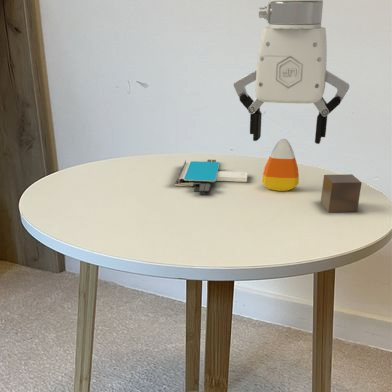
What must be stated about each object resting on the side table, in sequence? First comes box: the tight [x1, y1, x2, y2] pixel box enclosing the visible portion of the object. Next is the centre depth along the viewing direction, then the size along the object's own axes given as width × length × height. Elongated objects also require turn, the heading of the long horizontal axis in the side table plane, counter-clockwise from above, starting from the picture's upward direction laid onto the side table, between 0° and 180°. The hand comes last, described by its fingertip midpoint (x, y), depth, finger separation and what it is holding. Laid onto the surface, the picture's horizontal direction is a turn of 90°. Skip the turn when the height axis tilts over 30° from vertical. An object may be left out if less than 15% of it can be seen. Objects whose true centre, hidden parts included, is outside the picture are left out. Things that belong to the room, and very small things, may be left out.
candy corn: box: [261, 138, 300, 192], centre depth 97 cm, size 6×3×8 cm, turn 81°
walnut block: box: [320, 173, 363, 213], centre depth 90 cm, size 4×4×4 cm
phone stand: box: [174, 159, 248, 196], centre depth 103 cm, size 20×12×2 cm, turn 175°
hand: (286, 140), depth 94 cm, fingers open, 9 cm apart
